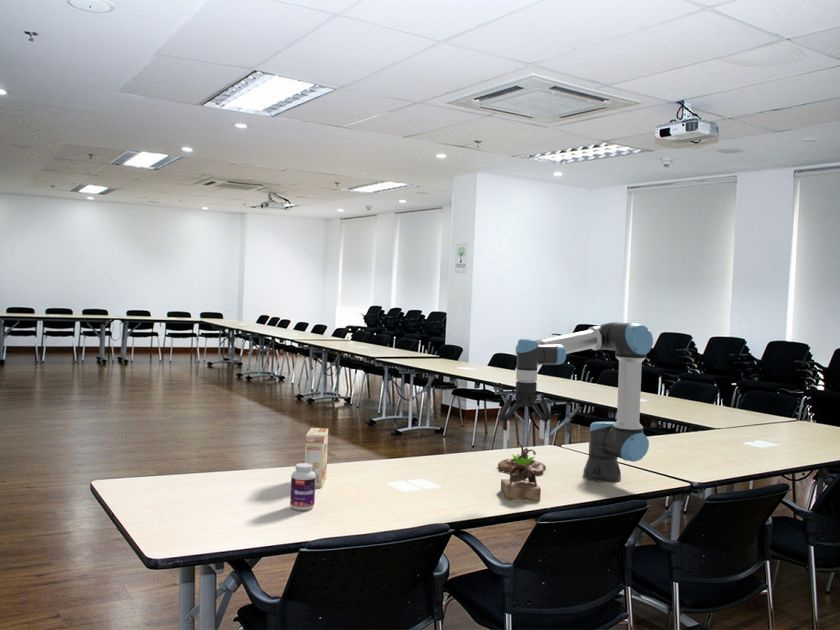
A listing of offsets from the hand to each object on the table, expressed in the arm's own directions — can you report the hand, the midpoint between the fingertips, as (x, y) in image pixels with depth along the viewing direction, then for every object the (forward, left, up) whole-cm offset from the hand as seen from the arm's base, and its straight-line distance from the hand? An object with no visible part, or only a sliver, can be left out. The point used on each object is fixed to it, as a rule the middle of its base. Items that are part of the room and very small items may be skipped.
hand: (524, 438), depth 263 cm
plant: (-15, -39, -22) cm, 48 cm away
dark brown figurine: (-1, 0, -17) cm, 17 cm away
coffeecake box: (+73, -25, -22) cm, 80 cm away
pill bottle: (+80, +6, -22) cm, 83 cm away
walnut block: (0, -1, -22) cm, 22 cm away
